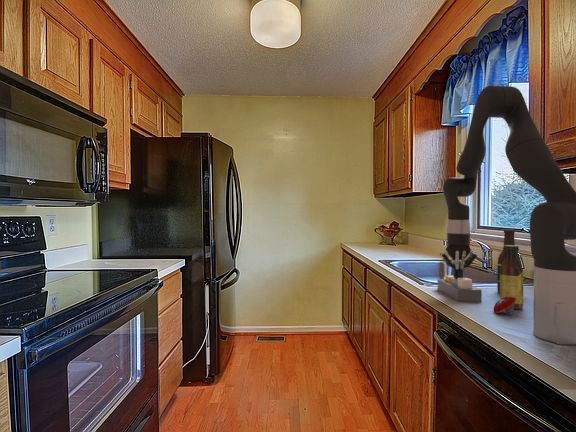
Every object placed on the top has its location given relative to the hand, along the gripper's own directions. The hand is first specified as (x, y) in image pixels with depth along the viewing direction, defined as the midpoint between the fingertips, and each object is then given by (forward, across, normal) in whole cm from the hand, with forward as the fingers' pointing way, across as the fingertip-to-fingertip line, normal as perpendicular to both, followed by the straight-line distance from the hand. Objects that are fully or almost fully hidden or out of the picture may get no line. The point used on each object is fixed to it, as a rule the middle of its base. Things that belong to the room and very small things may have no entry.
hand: (457, 279), depth 124 cm
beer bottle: (+6, +20, +3) cm, 21 cm away
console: (+6, 0, 0) cm, 6 cm away
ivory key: (+3, 0, -5) cm, 6 cm away
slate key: (+4, 0, 0) cm, 4 cm away
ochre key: (+4, 0, +5) cm, 6 cm away
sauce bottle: (+6, +10, -15) cm, 19 cm away
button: (+6, +4, -22) cm, 23 cm away
